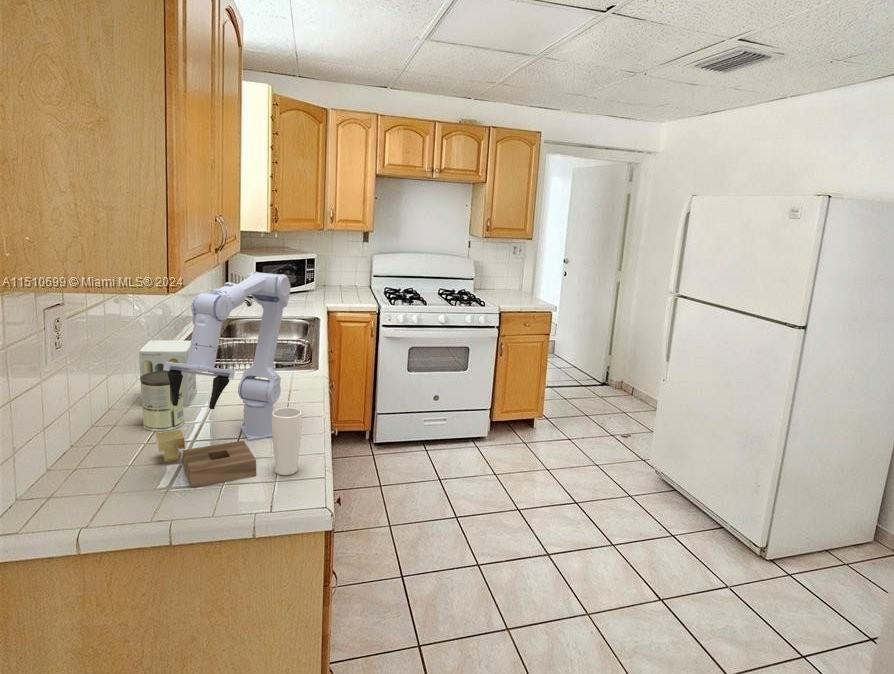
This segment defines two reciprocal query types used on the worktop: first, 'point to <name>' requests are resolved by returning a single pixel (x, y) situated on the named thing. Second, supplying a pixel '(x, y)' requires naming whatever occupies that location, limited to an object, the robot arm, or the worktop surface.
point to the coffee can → (160, 403)
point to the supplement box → (169, 351)
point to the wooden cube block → (170, 444)
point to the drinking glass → (286, 439)
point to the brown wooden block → (218, 463)
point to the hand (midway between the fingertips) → (193, 407)
